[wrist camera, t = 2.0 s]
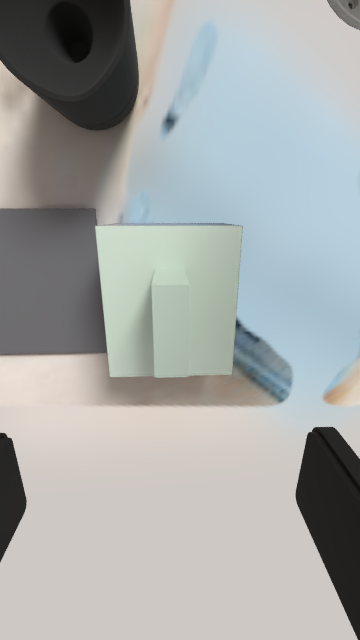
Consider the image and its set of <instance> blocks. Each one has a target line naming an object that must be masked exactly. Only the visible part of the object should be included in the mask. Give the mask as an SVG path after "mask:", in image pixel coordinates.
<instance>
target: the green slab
mask: <svg viewBox="0 0 360 640" xmlns="http://www.w3.org/2000/svg"><path fill="white" fill-rule="evenodd" d="M242 228H243V227H242V226H95V229H96V240H97V250H98V260H99V270H100V281H101V291H102V301H103V312H104V322H105V332H106V342H107V353H108V363H109V373H110V377H143V376H155V378H170V377H188V376H195V375H232V368H233V354H234V340H235V326H236V312H237V297H238V284H239V270H240V256H241V241H242Z"/></svg>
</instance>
